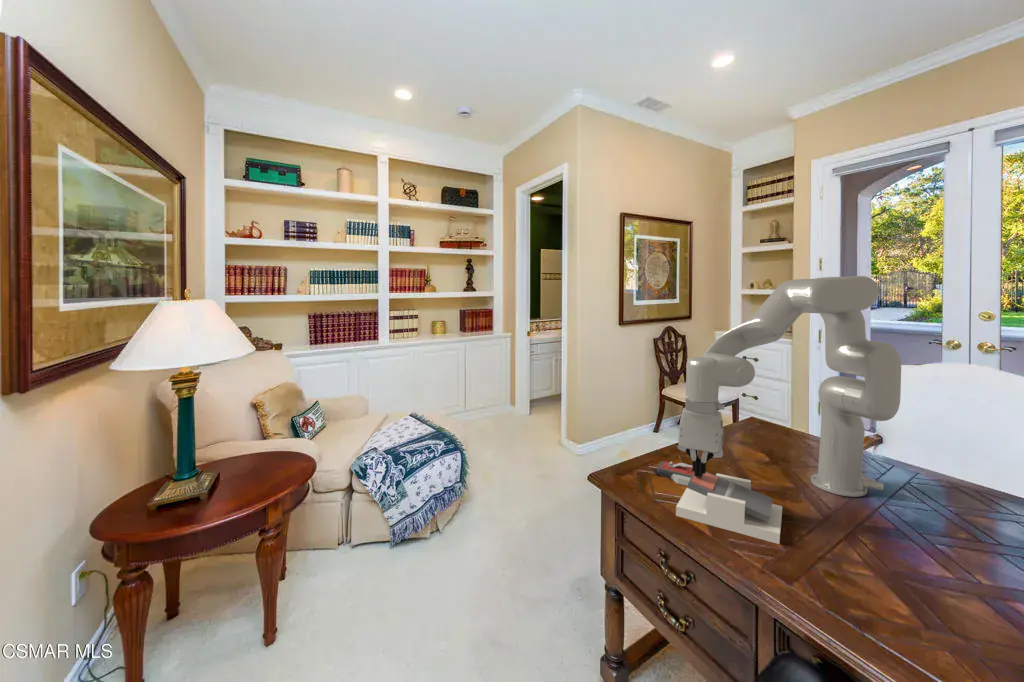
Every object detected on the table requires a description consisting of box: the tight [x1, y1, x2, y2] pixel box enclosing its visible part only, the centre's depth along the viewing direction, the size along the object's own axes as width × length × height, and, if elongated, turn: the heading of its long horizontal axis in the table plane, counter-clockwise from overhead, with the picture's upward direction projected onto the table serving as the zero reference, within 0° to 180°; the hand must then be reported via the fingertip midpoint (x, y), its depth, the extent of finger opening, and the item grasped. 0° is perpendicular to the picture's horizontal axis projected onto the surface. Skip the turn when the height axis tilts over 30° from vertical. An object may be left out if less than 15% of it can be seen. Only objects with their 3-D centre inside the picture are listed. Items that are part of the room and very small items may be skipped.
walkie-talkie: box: [652, 460, 694, 487], centre depth 123 cm, size 9×4×20 cm
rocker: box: [686, 471, 773, 522], centre depth 103 cm, size 18×10×2 cm, turn 56°
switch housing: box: [675, 473, 783, 545], centre depth 103 cm, size 22×14×8 cm, turn 55°
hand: (698, 474), depth 106 cm, fingers closed
